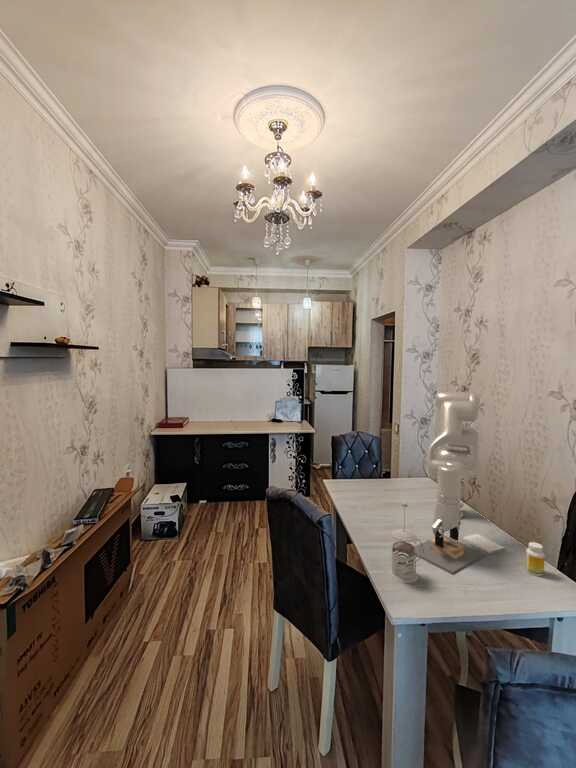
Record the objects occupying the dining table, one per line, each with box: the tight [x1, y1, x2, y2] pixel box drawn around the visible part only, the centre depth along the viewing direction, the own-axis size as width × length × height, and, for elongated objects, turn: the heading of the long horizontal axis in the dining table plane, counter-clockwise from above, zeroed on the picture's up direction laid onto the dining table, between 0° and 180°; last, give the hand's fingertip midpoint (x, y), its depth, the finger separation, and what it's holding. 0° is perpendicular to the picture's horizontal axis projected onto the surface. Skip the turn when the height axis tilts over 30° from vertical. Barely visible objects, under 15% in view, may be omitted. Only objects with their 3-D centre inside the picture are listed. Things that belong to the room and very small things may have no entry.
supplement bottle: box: [524, 541, 546, 577], centre depth 123 cm, size 5×5×10 cm
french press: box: [388, 501, 424, 584], centre depth 121 cm, size 10×12×25 cm
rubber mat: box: [414, 534, 487, 575], centre depth 135 cm, size 22×18×1 cm
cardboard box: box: [429, 537, 464, 559], centre depth 135 cm, size 10×6×3 cm, turn 37°
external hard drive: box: [462, 533, 506, 555], centre depth 142 cm, size 2×8×12 cm
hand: (446, 542), depth 135 cm, fingers open, 9 cm apart
